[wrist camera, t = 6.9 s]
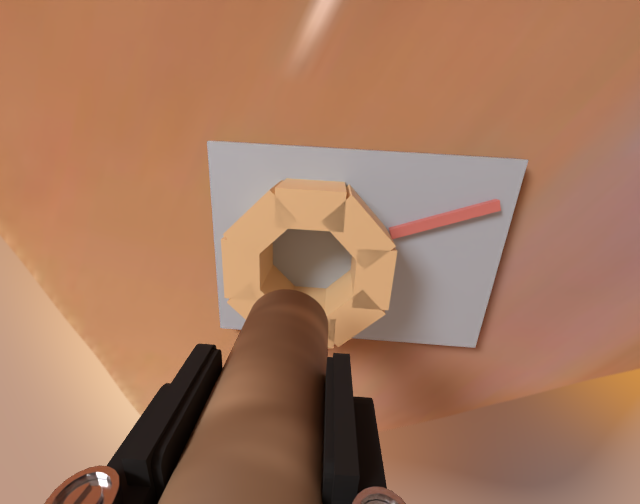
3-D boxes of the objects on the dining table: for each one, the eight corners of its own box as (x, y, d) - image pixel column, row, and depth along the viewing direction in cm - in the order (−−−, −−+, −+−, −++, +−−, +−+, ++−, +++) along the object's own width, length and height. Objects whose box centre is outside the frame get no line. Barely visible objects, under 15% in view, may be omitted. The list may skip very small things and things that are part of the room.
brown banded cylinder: (332, 291, 13) (331, 1209, 2) (326, 361, 14) (307, 1160, 3) (246, 285, 13) (-262, 1140, 2) (248, 356, 14) (-49, 1121, 3)
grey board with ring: (517, 158, 20) (575, 165, 15) (469, 338, 25) (500, 387, 20) (214, 140, 21) (175, 142, 16) (225, 319, 26) (199, 362, 21)
